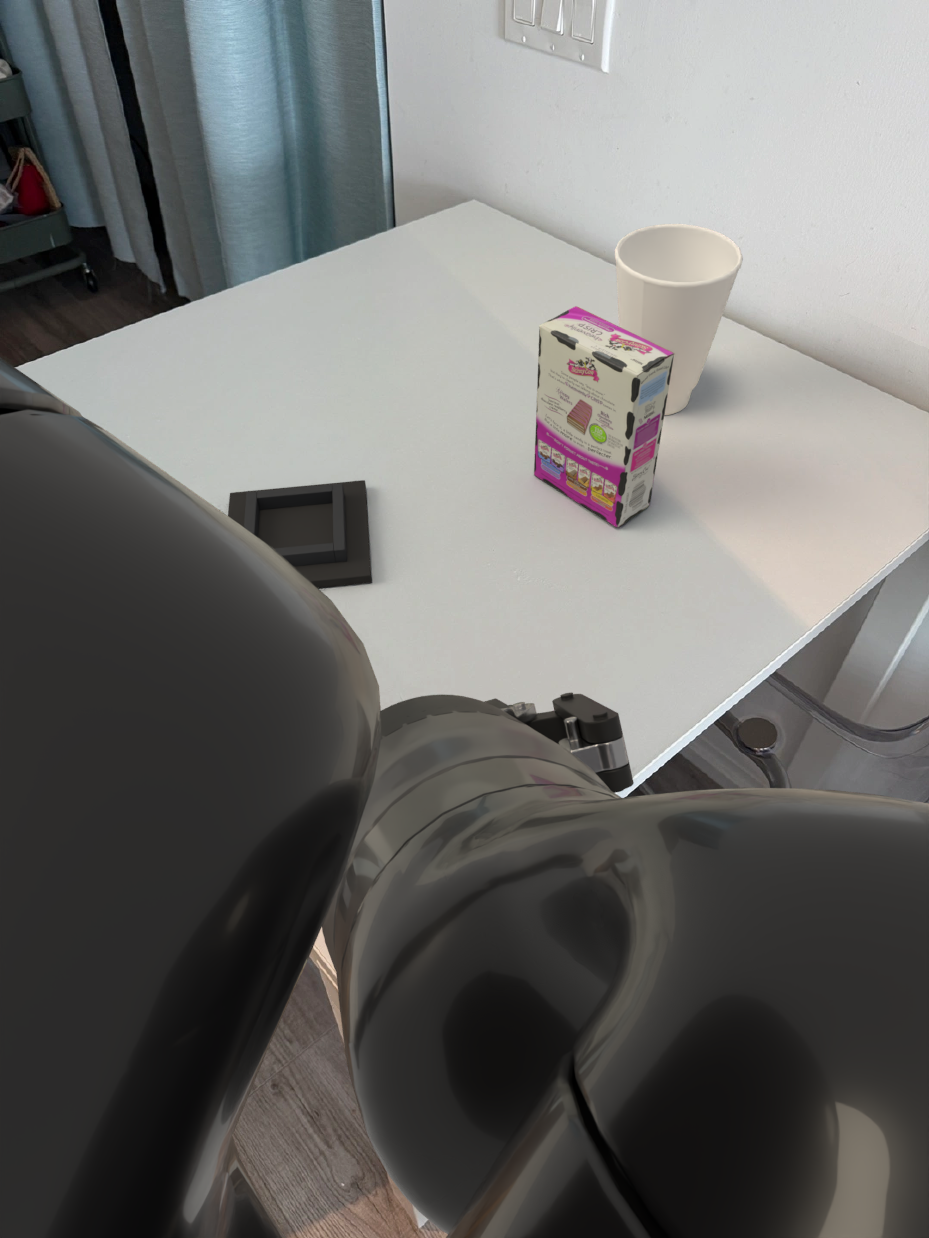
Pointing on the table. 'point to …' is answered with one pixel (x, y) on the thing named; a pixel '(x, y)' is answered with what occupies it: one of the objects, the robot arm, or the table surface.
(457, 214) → the table surface
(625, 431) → the candy bar box
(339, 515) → the base pad
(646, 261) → the cup
